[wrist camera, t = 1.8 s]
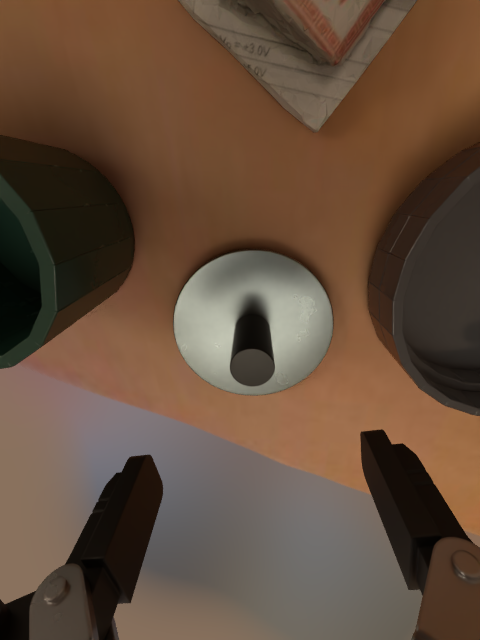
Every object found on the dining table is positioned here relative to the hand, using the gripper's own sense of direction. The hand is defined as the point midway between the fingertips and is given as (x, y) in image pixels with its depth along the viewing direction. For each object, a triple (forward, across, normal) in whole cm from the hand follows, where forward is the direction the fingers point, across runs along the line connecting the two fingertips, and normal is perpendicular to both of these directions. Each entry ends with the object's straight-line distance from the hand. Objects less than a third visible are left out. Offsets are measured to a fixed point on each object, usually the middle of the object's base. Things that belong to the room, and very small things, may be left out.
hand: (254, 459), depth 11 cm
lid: (+12, 0, 0) cm, 12 cm away
